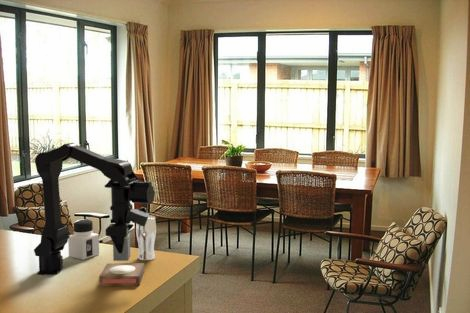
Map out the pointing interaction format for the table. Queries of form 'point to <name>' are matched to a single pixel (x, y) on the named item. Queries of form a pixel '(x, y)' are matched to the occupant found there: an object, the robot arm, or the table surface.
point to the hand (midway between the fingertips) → (121, 250)
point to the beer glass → (146, 239)
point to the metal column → (126, 250)
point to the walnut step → (122, 274)
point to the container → (83, 240)
